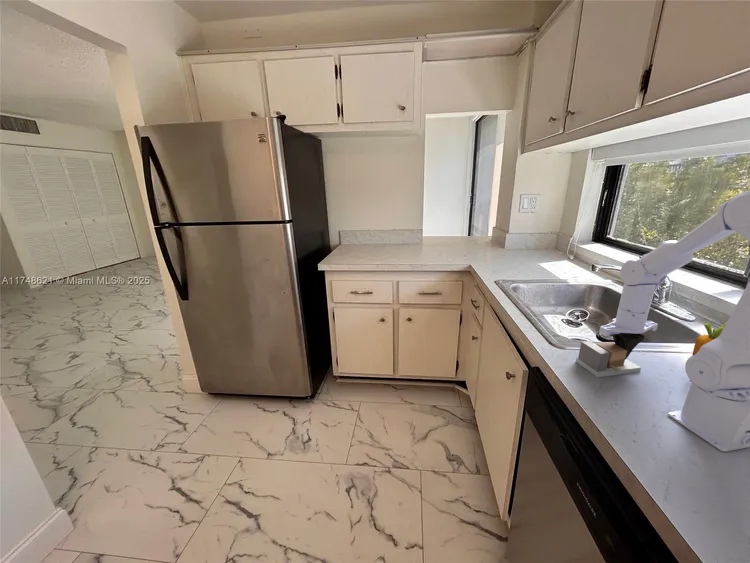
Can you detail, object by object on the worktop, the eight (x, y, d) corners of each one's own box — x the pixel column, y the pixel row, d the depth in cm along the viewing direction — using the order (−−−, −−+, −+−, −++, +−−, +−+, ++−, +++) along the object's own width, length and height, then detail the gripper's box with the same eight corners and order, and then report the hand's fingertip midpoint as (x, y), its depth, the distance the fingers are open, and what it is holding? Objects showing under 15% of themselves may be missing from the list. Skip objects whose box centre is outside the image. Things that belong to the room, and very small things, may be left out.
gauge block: (630, 370, 76) (635, 355, 74) (610, 373, 75) (614, 357, 74) (608, 356, 82) (611, 342, 80) (588, 359, 81) (592, 344, 80)
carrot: (683, 380, 74) (702, 323, 69) (684, 371, 77) (703, 316, 72) (713, 389, 70) (736, 330, 66) (713, 379, 74) (734, 322, 69)
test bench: (640, 371, 77) (646, 349, 75) (597, 377, 76) (603, 355, 74) (615, 356, 84) (620, 336, 82) (575, 361, 82) (579, 340, 80)
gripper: (643, 300, 80) (630, 346, 84) (593, 305, 78) (583, 352, 82) (672, 311, 74) (657, 360, 78) (618, 316, 71) (606, 367, 76)
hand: (621, 357), depth 80 cm, fingers closed
